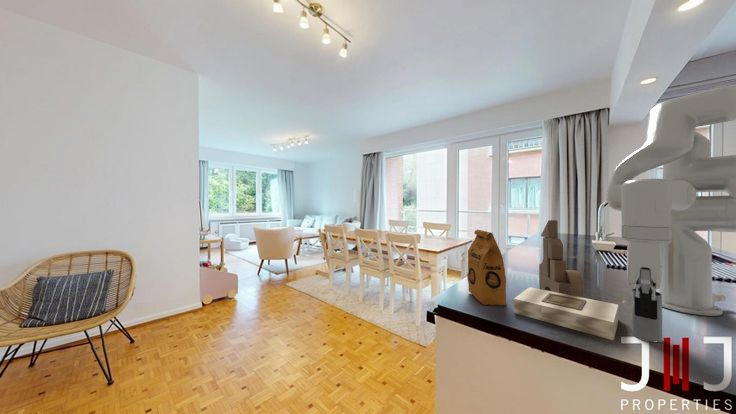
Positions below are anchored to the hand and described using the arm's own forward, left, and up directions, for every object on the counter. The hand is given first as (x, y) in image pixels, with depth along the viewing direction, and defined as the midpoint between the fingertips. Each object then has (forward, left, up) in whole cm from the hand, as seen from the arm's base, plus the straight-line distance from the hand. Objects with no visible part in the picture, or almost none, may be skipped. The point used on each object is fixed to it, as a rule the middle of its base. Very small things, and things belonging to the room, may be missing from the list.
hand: (645, 311), depth 56 cm
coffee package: (+23, -26, -6) cm, 35 cm away
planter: (-1, 0, -6) cm, 6 cm away
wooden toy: (-1, -26, -6) cm, 27 cm away
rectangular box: (+9, -12, -6) cm, 16 cm away
